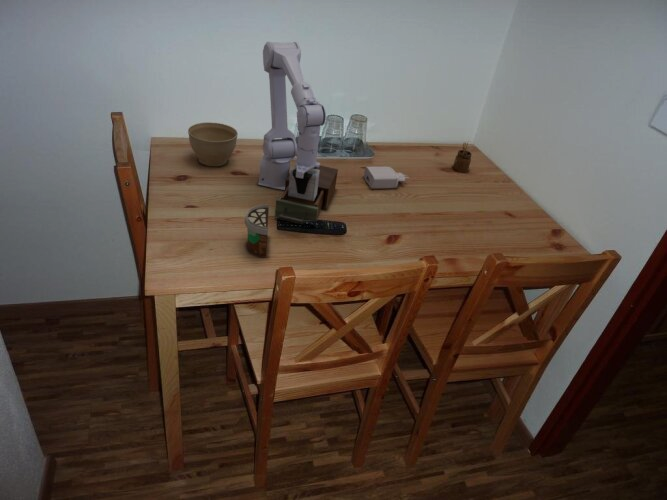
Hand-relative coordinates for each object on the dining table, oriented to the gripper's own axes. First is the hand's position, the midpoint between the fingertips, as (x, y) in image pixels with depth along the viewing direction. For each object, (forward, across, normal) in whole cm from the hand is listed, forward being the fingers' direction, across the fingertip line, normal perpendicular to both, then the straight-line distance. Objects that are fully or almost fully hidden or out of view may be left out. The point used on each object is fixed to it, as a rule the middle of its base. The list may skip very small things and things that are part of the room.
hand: (303, 189), depth 150 cm
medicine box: (+2, 0, 0) cm, 2 cm away
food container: (+8, -22, +7) cm, 24 cm away
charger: (+8, +32, -23) cm, 41 cm away
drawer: (+7, -3, 0) cm, 8 cm away
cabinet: (+8, +12, 0) cm, 15 cm away
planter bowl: (+8, +21, +37) cm, 44 cm away
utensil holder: (+8, +57, -49) cm, 76 cm away
